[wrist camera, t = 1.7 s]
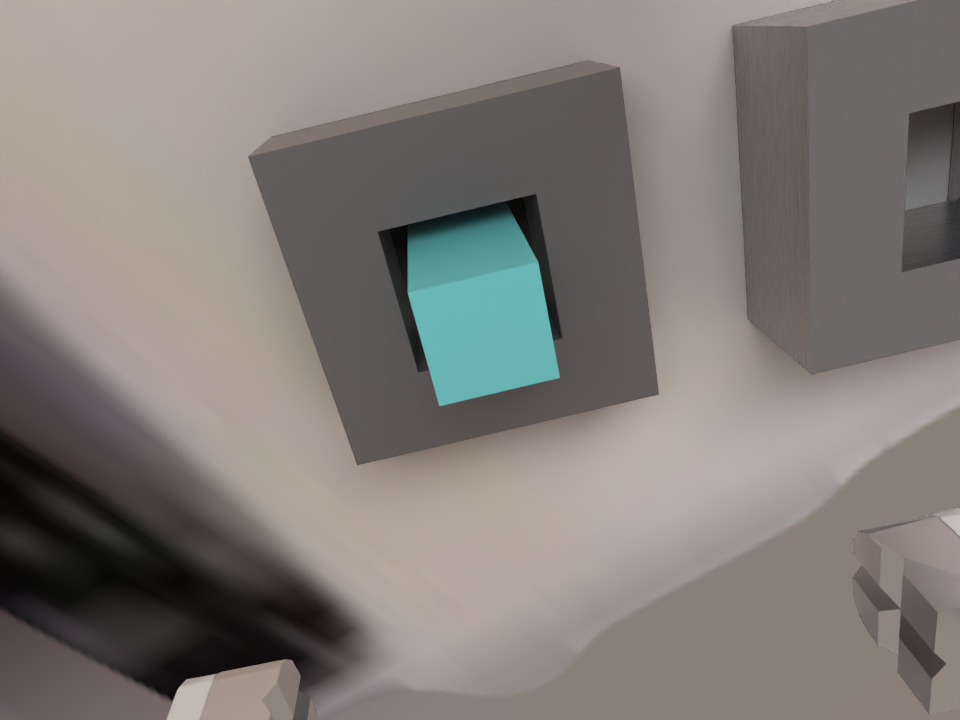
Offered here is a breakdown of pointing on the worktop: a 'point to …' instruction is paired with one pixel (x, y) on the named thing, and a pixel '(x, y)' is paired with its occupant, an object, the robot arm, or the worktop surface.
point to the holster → (451, 189)
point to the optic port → (847, 179)
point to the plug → (479, 304)
